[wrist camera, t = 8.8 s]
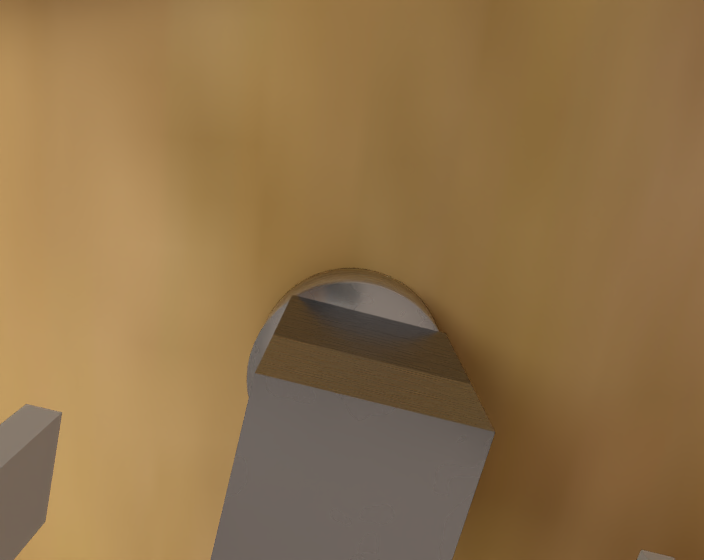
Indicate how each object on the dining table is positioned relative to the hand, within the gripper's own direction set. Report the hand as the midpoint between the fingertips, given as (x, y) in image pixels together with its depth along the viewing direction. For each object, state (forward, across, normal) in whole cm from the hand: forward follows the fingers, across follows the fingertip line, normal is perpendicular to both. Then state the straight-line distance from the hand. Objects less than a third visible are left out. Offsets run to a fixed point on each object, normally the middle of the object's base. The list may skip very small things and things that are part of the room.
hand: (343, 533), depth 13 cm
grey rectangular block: (+10, 0, -1) cm, 10 cm away
